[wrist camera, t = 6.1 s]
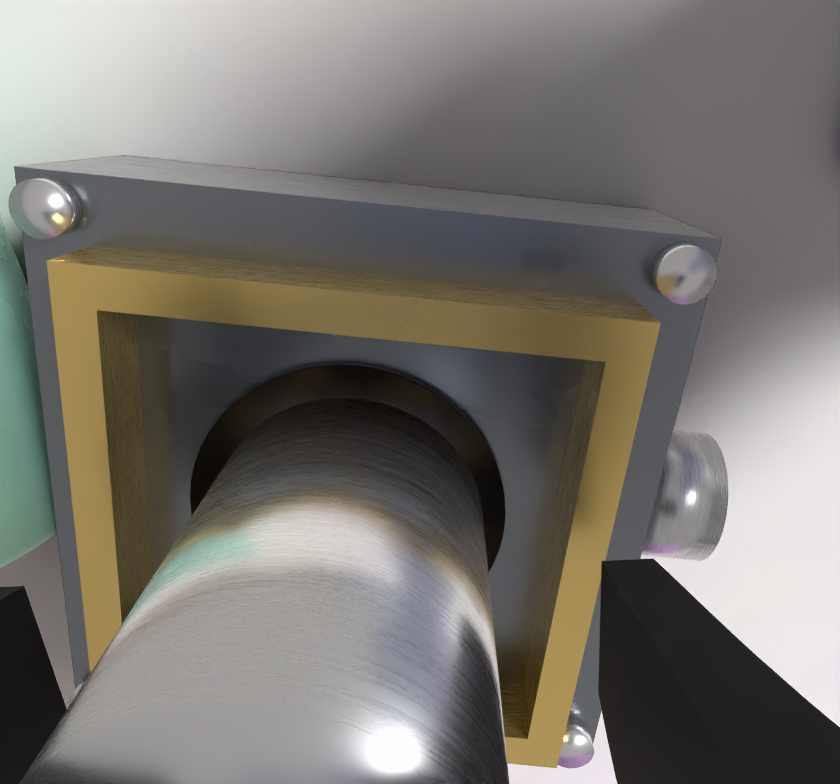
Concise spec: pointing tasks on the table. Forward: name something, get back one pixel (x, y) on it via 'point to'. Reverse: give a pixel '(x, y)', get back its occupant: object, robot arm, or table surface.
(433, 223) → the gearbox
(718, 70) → the table surface
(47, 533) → the mint green cylinder
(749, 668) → the robot arm
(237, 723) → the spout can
